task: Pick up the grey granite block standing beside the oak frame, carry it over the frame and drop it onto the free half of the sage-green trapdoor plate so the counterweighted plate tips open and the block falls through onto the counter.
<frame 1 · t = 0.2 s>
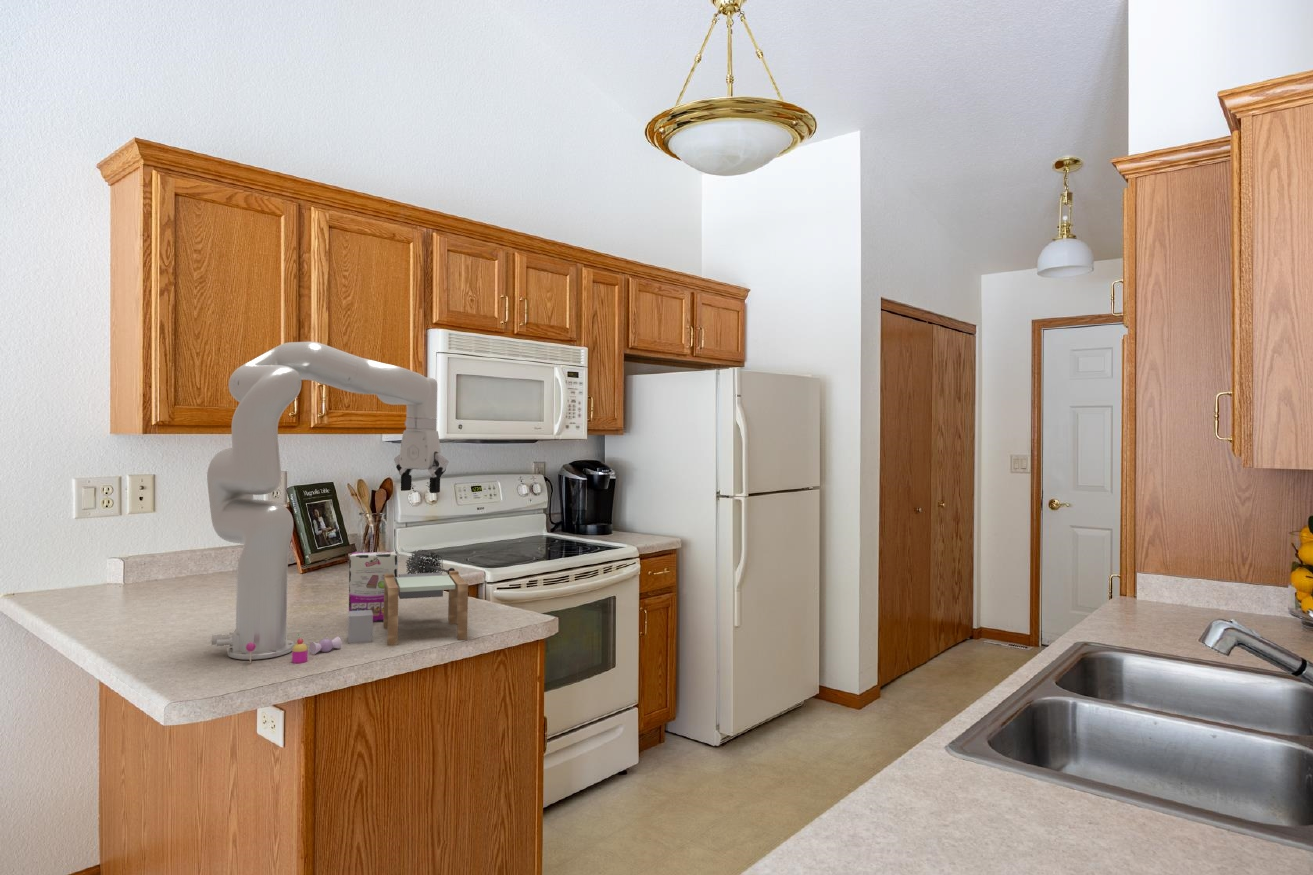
hand: (420, 491, 205), 31 cm above the countertop, tool pointing down, fingers open, 9 cm apart
massage brush: (429, 583, 241), on the countertop
frame: (424, 632, 184), on the countertop
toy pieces: (297, 659, 163), on the countertop
trapdoor: (423, 589, 187), point 9 cm above the countertop, hinge at 0.0°
candy bar box: (373, 620, 195), on the countertop
stone: (360, 639, 177), on the countertop
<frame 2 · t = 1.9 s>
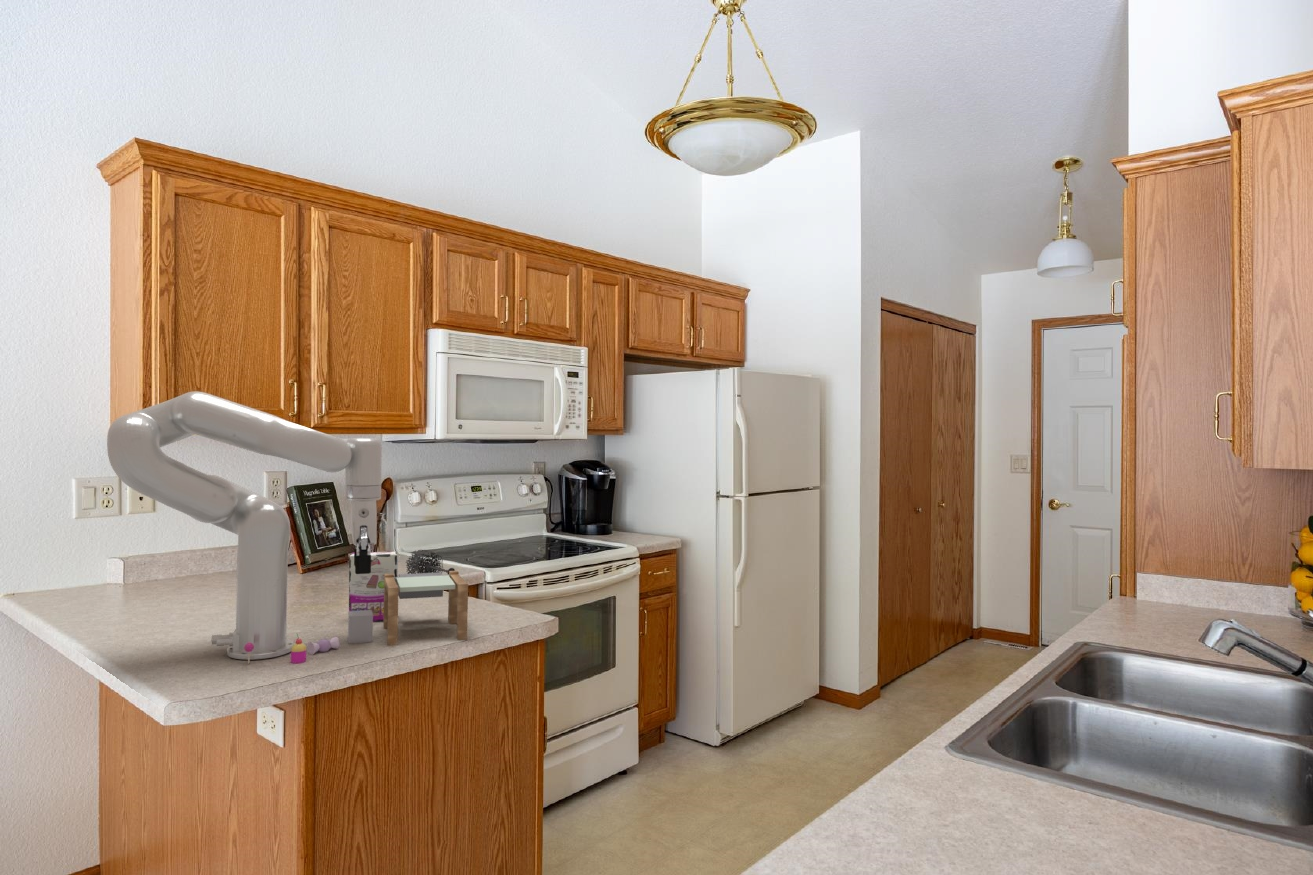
hand: (362, 569, 177), 16 cm above the countertop, tool pointing down, fingers open, 9 cm apart
nothing on the countertop moved.
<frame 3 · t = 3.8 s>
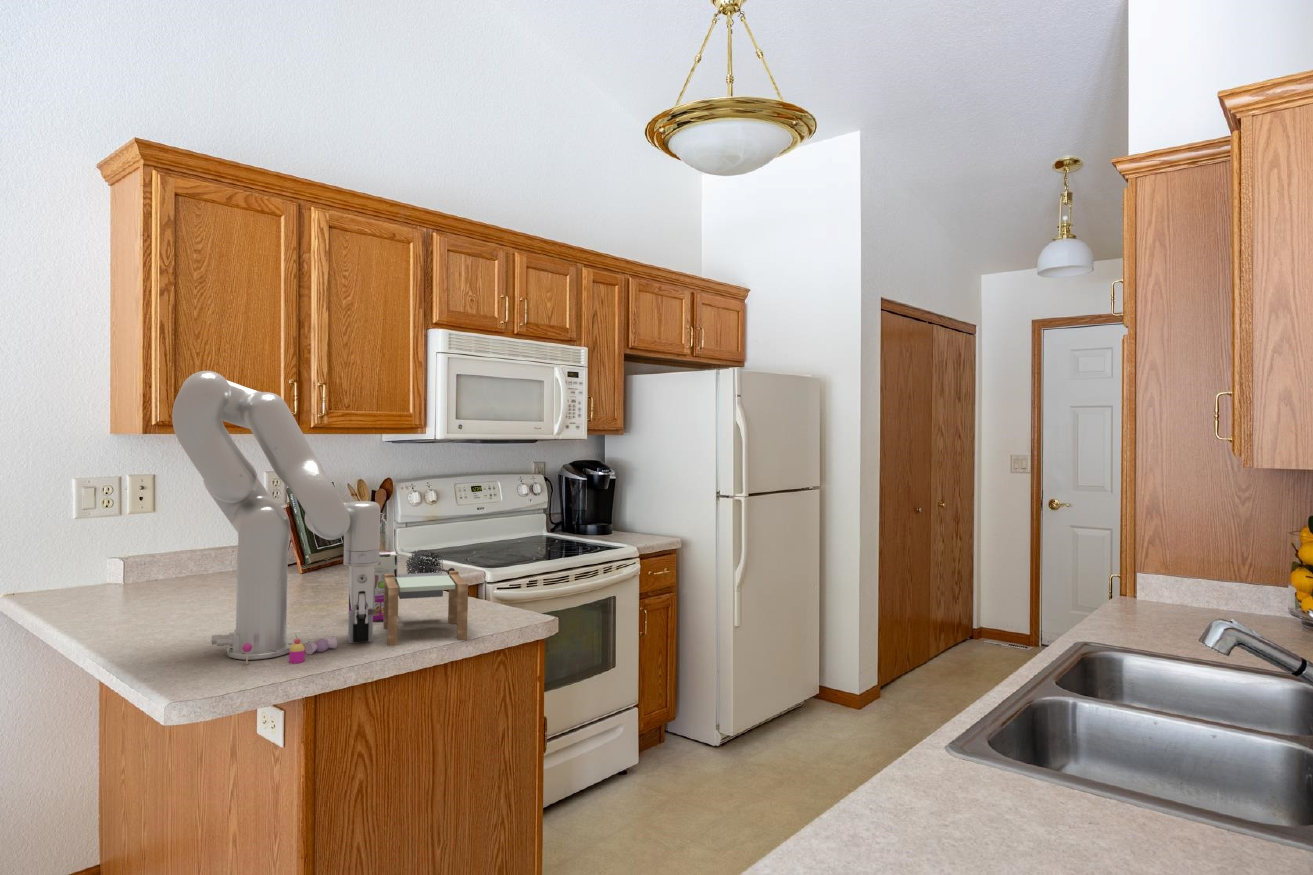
hand: (360, 637, 177), 0 cm above the countertop, tool pointing down, fingers closed on stone, 5 cm apart
stone: (360, 639, 177), on the countertop, touching gripper
everything else where it was.
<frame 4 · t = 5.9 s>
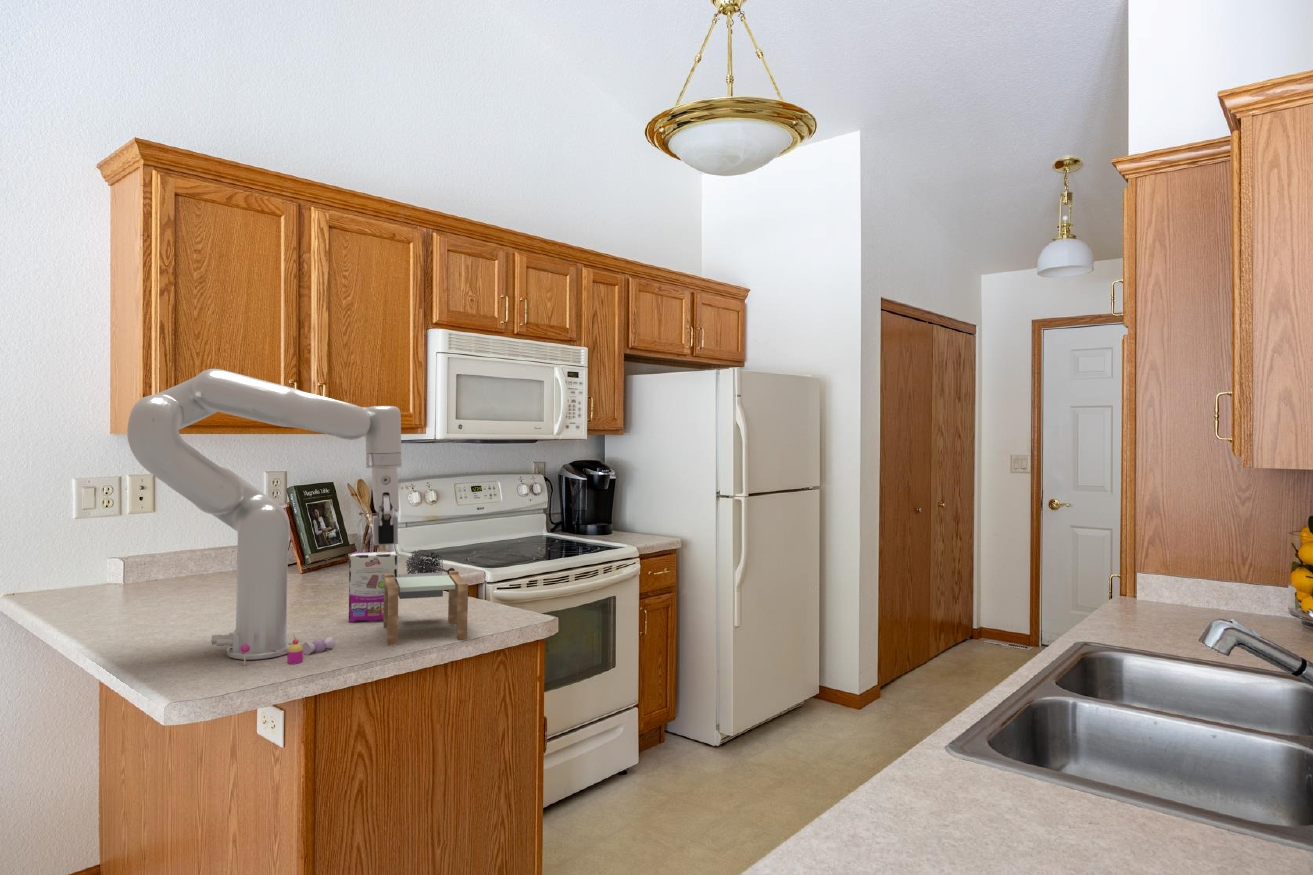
hand: (385, 540, 178), 22 cm above the countertop, tool pointing down, fingers closed on stone, 5 cm apart
stone: (385, 543, 178), point 21 cm above the countertop, touching gripper
when the fingers open (15 cm above the countertop, at t = 7.8 s): stone drops 12 cm and tips over, point 2 cm above the countertop.
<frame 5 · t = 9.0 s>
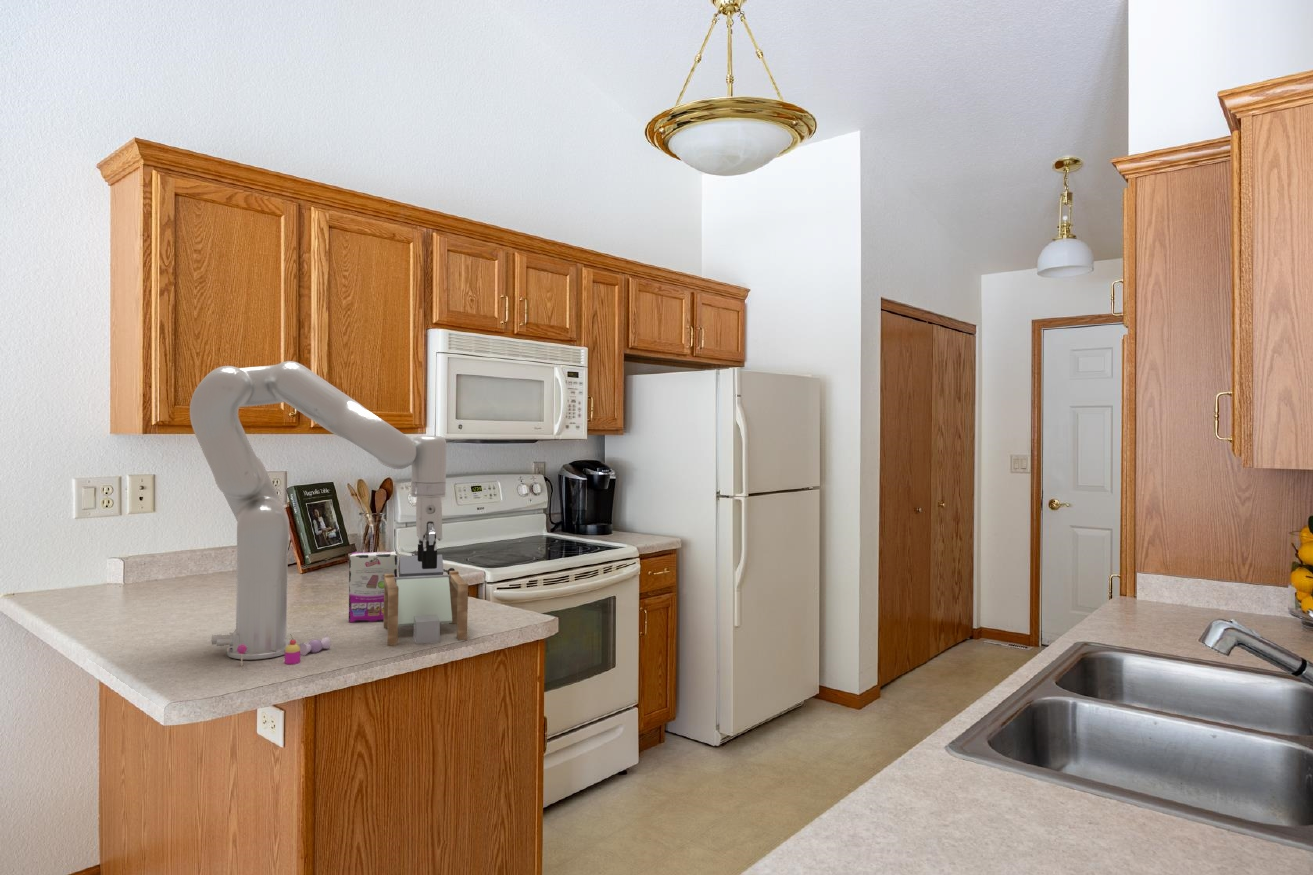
hand: (426, 564, 181), 16 cm above the countertop, tool pointing down, fingers open, 9 cm apart
trapdoor: (422, 593, 189), point 8 cm above the countertop, hinge at -47.7°
stone: (425, 625, 181), point 2 cm above the countertop, tilted 90°
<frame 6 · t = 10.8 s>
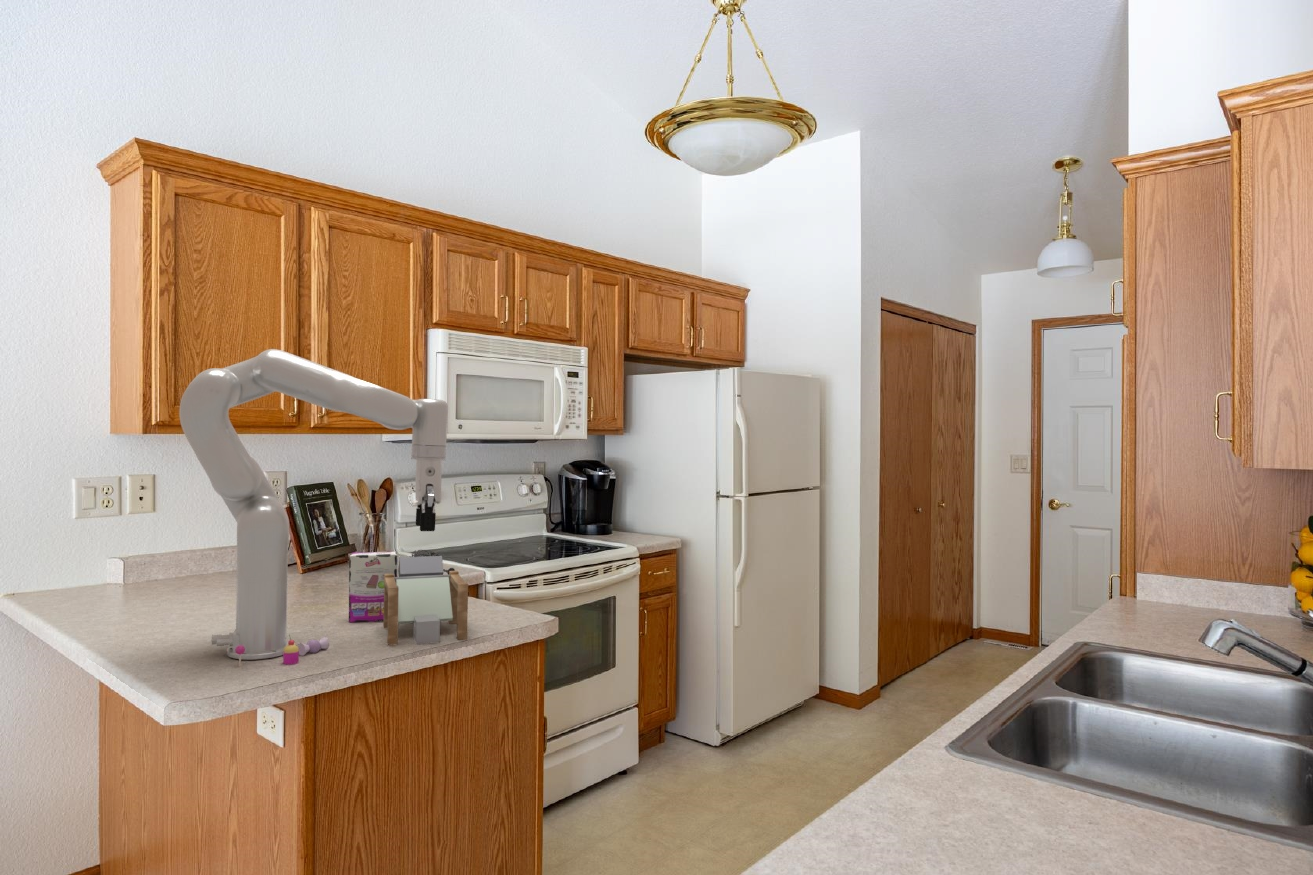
hand: (424, 528, 181), 25 cm above the countertop, tool pointing down, fingers open, 9 cm apart
trapdoor: (422, 593, 189), point 8 cm above the countertop, hinge at -42.9°
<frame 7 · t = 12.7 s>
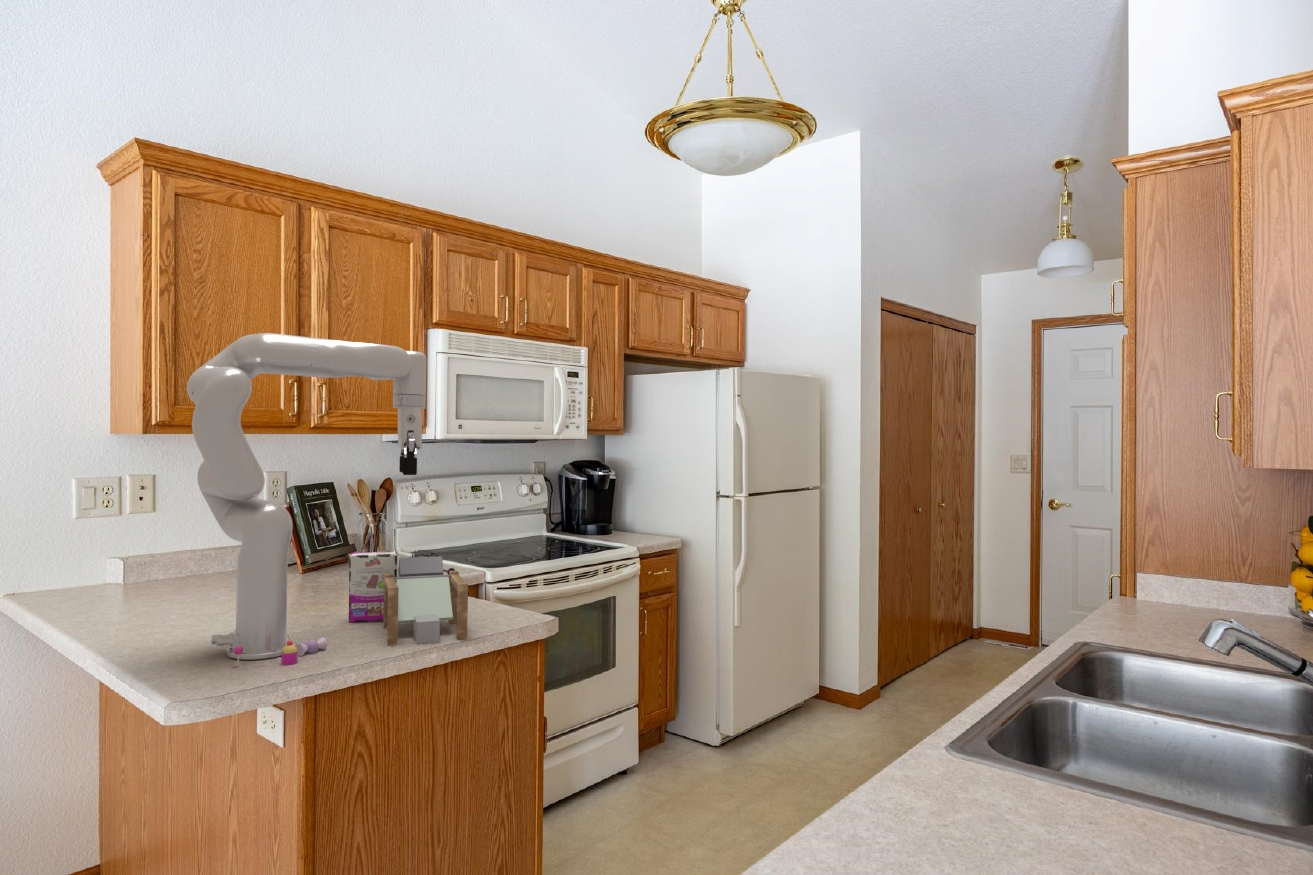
hand: (407, 473, 191), 36 cm above the countertop, tool pointing down, fingers open, 9 cm apart
trapdoor: (422, 593, 189), point 8 cm above the countertop, hinge at -41.3°
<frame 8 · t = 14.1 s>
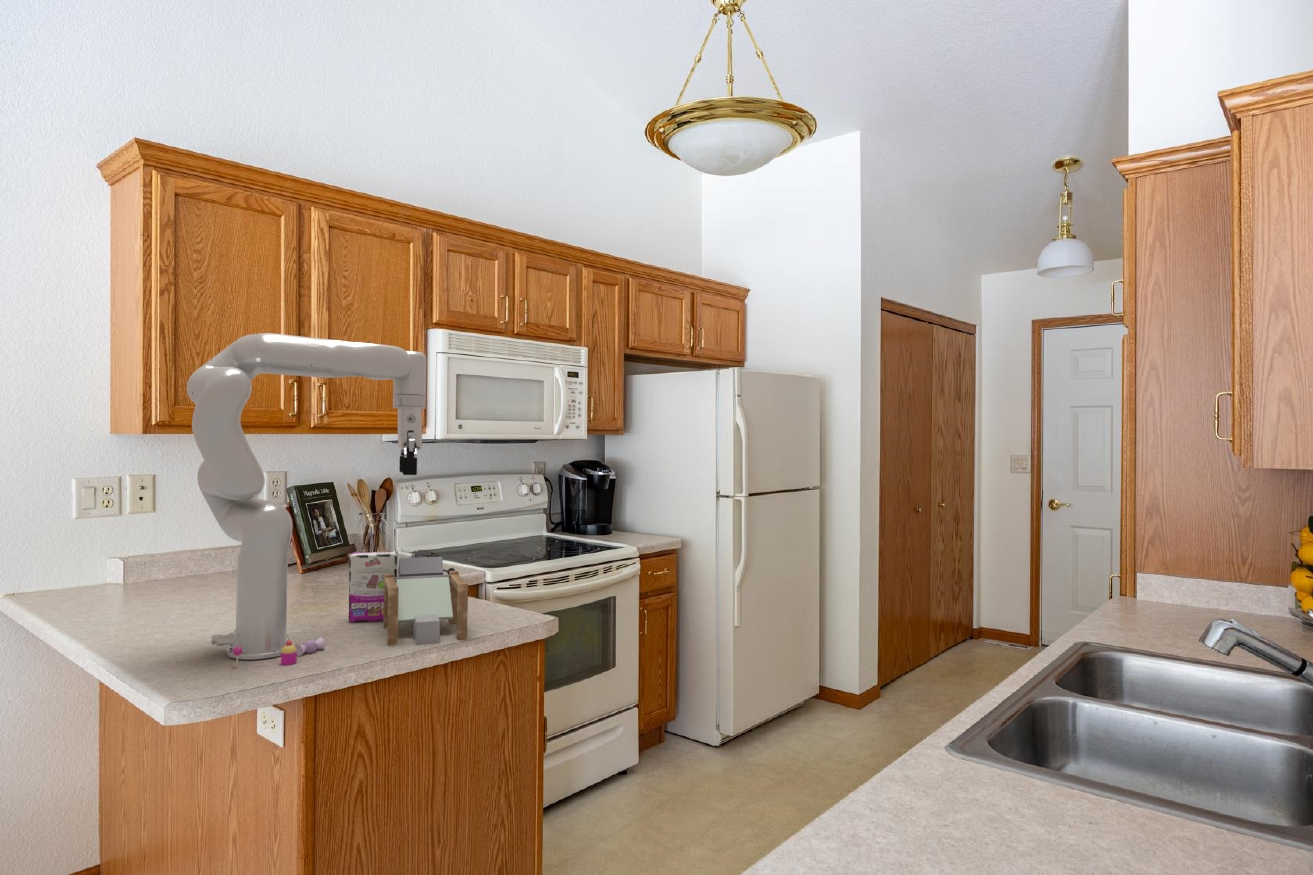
hand: (407, 473, 191), 36 cm above the countertop, tool pointing down, fingers open, 9 cm apart
trapdoor: (422, 593, 189), point 8 cm above the countertop, hinge at -40.3°
at the end: stone point 2.3 cm above the countertop; stone inside the target area (11.0 cm from its centre), point 2.3 cm above the countertop; the gripper is holding nothing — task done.
